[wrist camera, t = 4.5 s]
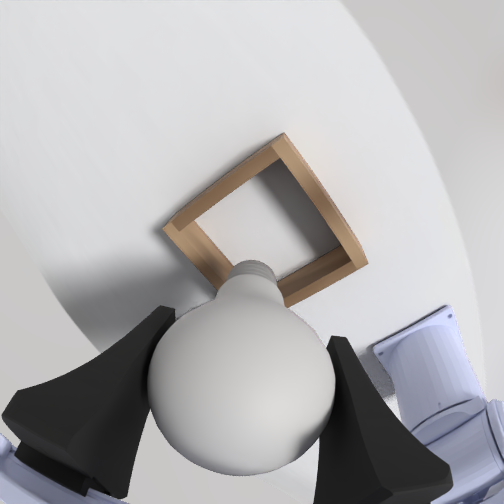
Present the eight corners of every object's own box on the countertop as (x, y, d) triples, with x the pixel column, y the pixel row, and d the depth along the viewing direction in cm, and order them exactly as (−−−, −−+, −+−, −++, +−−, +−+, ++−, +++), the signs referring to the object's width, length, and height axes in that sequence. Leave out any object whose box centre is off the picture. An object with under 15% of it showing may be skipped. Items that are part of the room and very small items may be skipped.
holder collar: (361, 245, 20) (368, 263, 18) (255, 304, 24) (251, 326, 22) (284, 132, 17) (283, 137, 15) (175, 214, 21) (162, 229, 19)
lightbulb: (246, 195, 15) (203, 357, 5) (331, 270, 16) (391, 454, 6) (175, 276, 17) (93, 446, 7) (257, 336, 18) (246, 509, 8)
